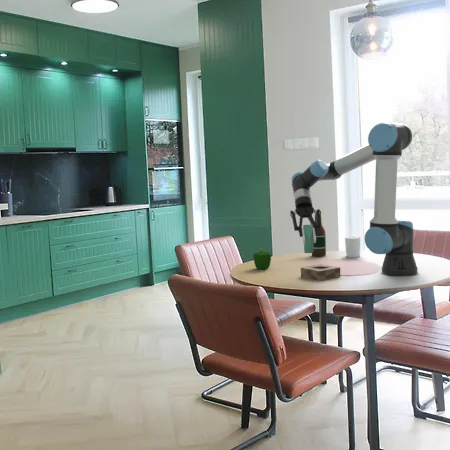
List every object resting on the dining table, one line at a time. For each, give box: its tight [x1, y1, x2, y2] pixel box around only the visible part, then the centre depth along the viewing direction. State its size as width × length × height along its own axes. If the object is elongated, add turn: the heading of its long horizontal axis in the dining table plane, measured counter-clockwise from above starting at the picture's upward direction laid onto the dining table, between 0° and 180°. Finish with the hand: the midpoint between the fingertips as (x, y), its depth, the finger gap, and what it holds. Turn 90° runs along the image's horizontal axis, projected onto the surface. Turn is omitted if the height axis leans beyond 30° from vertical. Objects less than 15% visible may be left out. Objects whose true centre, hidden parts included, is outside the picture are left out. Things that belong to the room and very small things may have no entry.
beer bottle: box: [311, 210, 327, 258], centre depth 310 cm, size 8×8×24 cm
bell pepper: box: [253, 248, 272, 270], centre depth 280 cm, size 8×8×10 cm
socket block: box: [300, 263, 341, 282], centre depth 256 cm, size 12×12×4 cm
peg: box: [302, 224, 314, 254], centre depth 255 cm, size 4×4×12 cm
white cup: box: [344, 236, 362, 258], centre depth 304 cm, size 8×8×10 cm
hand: (309, 241), depth 252 cm, fingers closed on peg, 4 cm apart
